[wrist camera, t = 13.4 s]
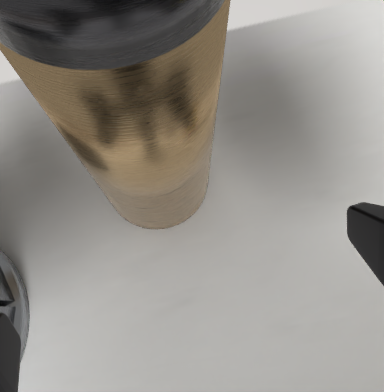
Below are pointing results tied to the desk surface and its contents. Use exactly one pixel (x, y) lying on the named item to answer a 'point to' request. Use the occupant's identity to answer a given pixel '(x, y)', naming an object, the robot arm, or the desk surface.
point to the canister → (127, 92)
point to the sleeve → (14, 298)
